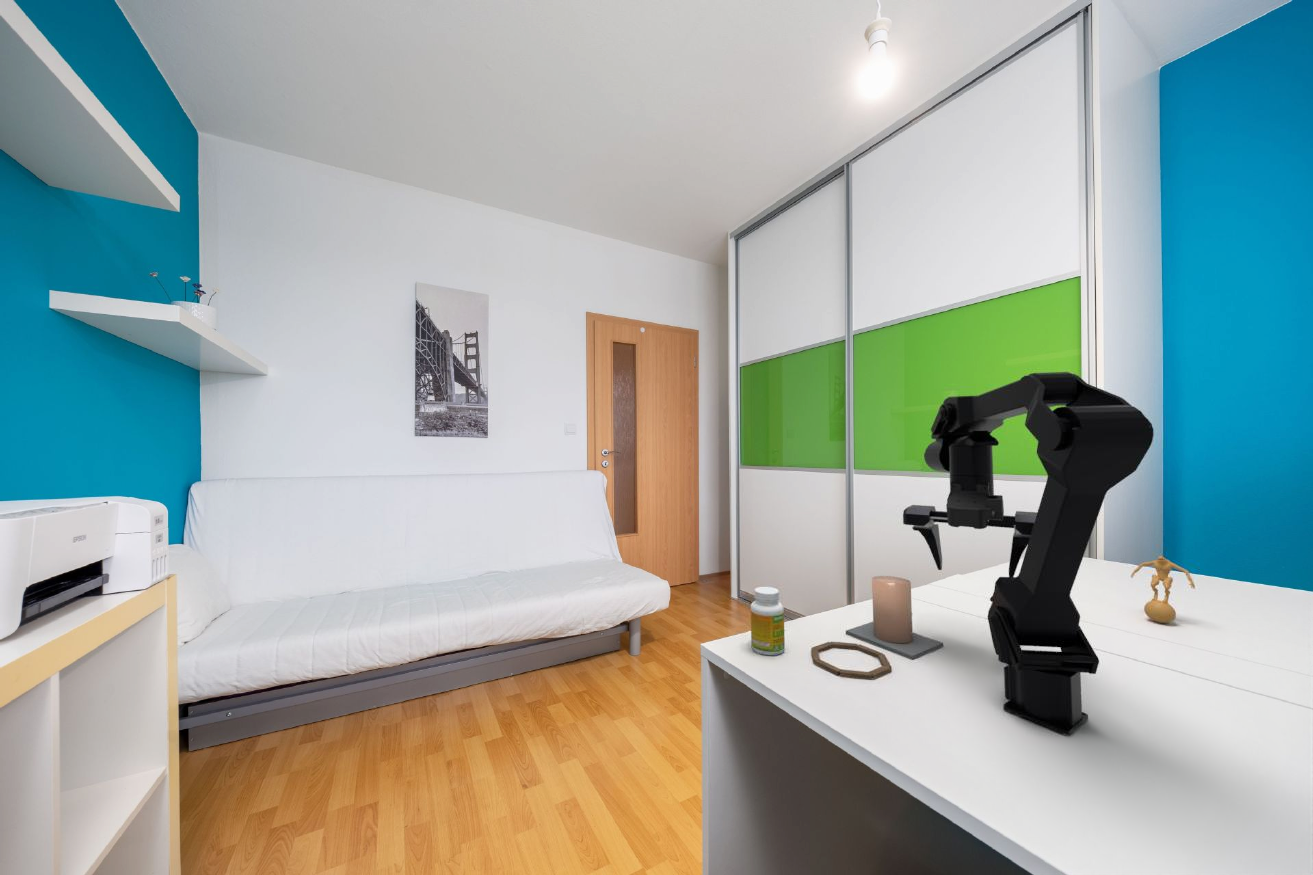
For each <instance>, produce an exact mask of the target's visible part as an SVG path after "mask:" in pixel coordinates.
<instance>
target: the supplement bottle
mask: <svg viewBox="0 0 1313 875" xmlns="http://www.w3.org/2000/svg"><path fill="white" fill-rule="evenodd" d="M753 594H754V601H752V602H751V604H750V639H751V640H750V641H751V644H750V645H751V649H752V650H753V651H754V652H755V653H758V654H761V655H762V656H763V655H764V656H778V655H781V654H782V653H784V652H785V646H786V645H785V644H786V643H785V638H786V637H785V609H784V605H783V604H782V603H781V602H779V601H780V591H779V590H778V589H777V588H775V587H771V586H759V587H758V586H757V587H755V588H754V592H753Z"/></svg>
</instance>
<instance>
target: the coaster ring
mask: <svg viewBox="0 0 1313 875" xmlns="http://www.w3.org/2000/svg"><path fill="white" fill-rule="evenodd" d="M830 649H843V650H855V651H856V650H857V651H859V652H862V653H864V654H867V655H868V656H871V657H874V658H877V659H878V661H879V662H880V664H881V666H879V667H877V668H874V669H871V670H869V671H863V670H862V671H861V670H854V669H853V670H851V669H841V668H840V667H837V666H835V665H832V664H830V663H829V662H827V661H824V660H822V659H821V658H820V657H821V656H820V653H823V652H826V651H828V650H830ZM810 652H811V658H812V662H813V663H812V664H813V665H815V666H816V667H819V668H821V669H823V670H825V671H827V672H829V673H831V674H833V675H835V676H837V677H839V676H840V677H841V678H851V679H852V678H853V679H860V680H861V679H863V680H876V679H878V678H880V677H882V676H884V675H887V674H889V673H891V672H892V665H891V663H890V661H889V659H888V657H887V656H886V655H885V654H884V653H883V652H880V651H878V650H875V649H872V648H871V647H868V646H866V645H863V644H859V643H856V642H855V643H852V642H841V641H827V642H824V643H821V644H819V645H816V646H813V647H811V649H810Z"/></svg>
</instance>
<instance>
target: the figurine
mask: <svg viewBox="0 0 1313 875" xmlns="http://www.w3.org/2000/svg"><path fill="white" fill-rule="evenodd" d="M1146 566H1154V569H1155V571H1156V573H1157V575H1156V574H1155V573H1154V574H1152V575H1151V582H1150V587H1151V589H1152V591H1153V592H1154V595H1153V597H1152V598H1151V600H1149V601H1147V602H1146V603H1145V605H1144V607H1143V610H1144V613H1145V615H1146V616H1147V617H1148V618H1149V619H1150V620H1152V621H1154V622H1156V623H1160V624H1168V623H1171V622H1173V621H1174V620H1175V619H1176V616H1177V612H1176V610H1175V608H1174V607H1173V606H1172V605H1171V604H1170V603H1169V598H1170V594H1171V591H1170V589H1171V588H1172V583H1173V581H1174V578H1173V577H1172V576H1169V575H1170V573H1171V571H1172V569H1176V570H1178V571H1180V572H1182V573H1185V576H1186V577H1187V580H1188V581H1189V582H1190V583H1189V584H1188V585H1189V586H1190V585H1191V586H1190V588H1191V589H1195V588H1196V587H1195V586H1196V585H1195V583H1194V580H1193V578H1192V576H1191V573H1190V572H1189V571H1188V570H1187V569H1185V568H1183V567H1181V566H1179V565H1177V564H1176V563H1174V562H1171V561H1170V560H1169V559H1166V558H1165V557H1164V556H1162V555H1160V556H1158V557H1157V559H1155V560H1151V561H1145V562H1142V563H1140V564H1139V565H1138V566H1137V567H1136V568H1135V569H1134V570H1133V572H1132V573H1131V576H1130V578H1131V579H1132V578H1134V576H1135V574H1137V572H1139V571H1140V570H1141V569H1142V568H1143V567H1146ZM1160 582H1162V586H1164V593H1165V595H1164V598H1163V600H1159V599H1158V596H1159V590H1158V588H1157V587H1156V586H1158V585H1160Z"/></svg>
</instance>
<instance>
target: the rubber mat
mask: <svg viewBox="0 0 1313 875" xmlns="http://www.w3.org/2000/svg"><path fill="white" fill-rule="evenodd" d="M845 634H846V635H847V636H849V637H853V638H856V639H858V640H860V641H863V642H866V643H868V644H871V645H873V646H876V647H878V648H881V649H883V650H885V651H889V652H892V653H894V654H896V655H898V656H899V655H900V656H902V657H905V658H907V659H909V660H915V659H918V658H920V657H923V656H924V655H927V654H929V653H931V652H934V651H936V650H939V649H941V648H943V647H944V642H942V641H938V640H936V639H933V638H930V637H927V636H924V635H921V634H918V633H916V632H913V640H912V641H911V642H909V643H892V642H887V641H884V640H881V639H879V638H877V637H875V636H874V629H873V621H870V622H867V623H865V624H864V623H863V624H861V625H858V626H856V627H852V628H850V629H846V630H845Z"/></svg>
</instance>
